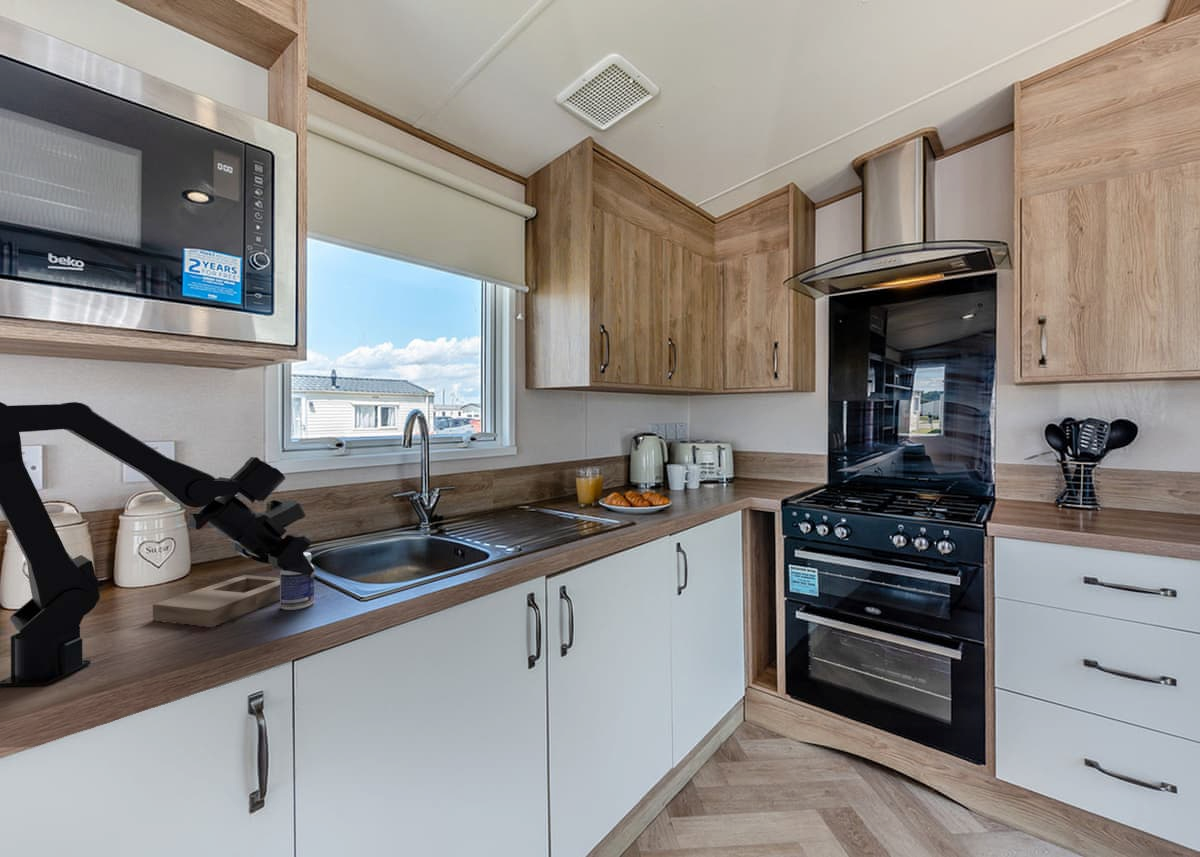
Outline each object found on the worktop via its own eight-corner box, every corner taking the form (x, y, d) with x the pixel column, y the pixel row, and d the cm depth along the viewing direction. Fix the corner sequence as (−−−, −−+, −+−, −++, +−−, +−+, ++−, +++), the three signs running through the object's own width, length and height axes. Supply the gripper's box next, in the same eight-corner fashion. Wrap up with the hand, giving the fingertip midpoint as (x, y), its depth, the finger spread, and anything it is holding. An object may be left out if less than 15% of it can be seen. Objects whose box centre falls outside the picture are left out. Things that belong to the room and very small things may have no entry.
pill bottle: (318, 605, 98) (318, 554, 98) (285, 613, 94) (285, 560, 94) (308, 598, 102) (308, 549, 102) (275, 605, 98) (275, 554, 98)
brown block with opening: (211, 627, 87) (211, 610, 87) (152, 620, 90) (152, 604, 90) (295, 593, 105) (295, 579, 105) (243, 588, 108) (243, 574, 108)
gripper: (299, 492, 89) (358, 542, 98) (253, 484, 100) (311, 530, 109) (248, 544, 83) (317, 593, 92) (205, 530, 93) (271, 575, 103)
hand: (304, 570), depth 99 cm, fingers closed on pill bottle, 6 cm apart
